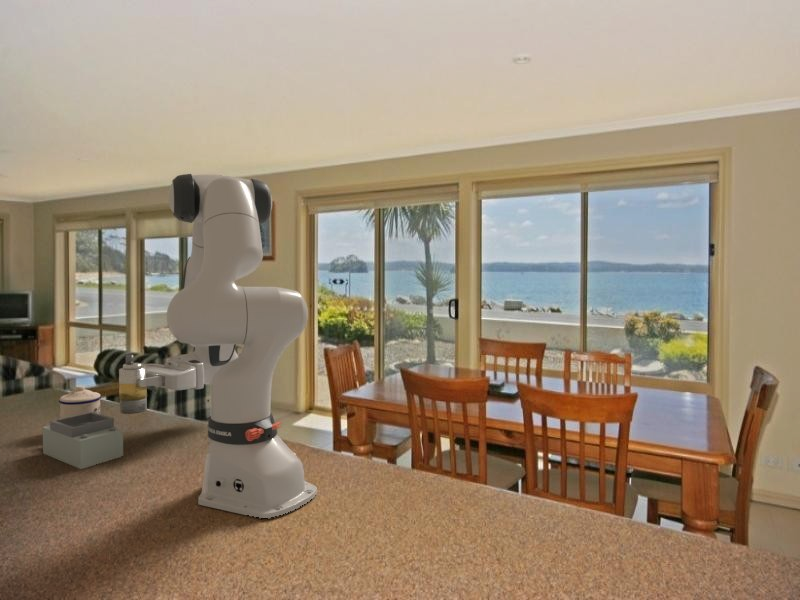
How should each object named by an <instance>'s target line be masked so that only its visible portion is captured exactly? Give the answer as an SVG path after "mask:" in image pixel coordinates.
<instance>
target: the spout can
mask: <svg viewBox="0 0 800 600" xmlns="http://www.w3.org/2000/svg"><path fill="white" fill-rule="evenodd" d="M142 364H143V363H141V362H134V354H127V355H126V354H125V363H123V365H122V368H119V369H118V374H119V375H118V385H119V386H118V387H119V389H118V390H119V391H118V392H119V394H118V395H119V413H120V414H123V415H132V414H133V415H134V414H140V413H144V412H146V411H148V410H147V409H148V407H147V406H148V403H147V401H148V400H147V397H148V392H147V387H148V386H145V387H139V386H137V379H141V378H146V367H142Z"/></svg>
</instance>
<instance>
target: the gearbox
mask: <svg viewBox="0 0 800 600" xmlns="http://www.w3.org/2000/svg"><path fill="white" fill-rule="evenodd" d="M49 423H50V424H49V425H45V426H43V427H42V452H43V453H42V454H44V455H46V456H48V457H51V458H53V459H56V460H58V461H60V462H63V463H65V464H67V465H70V466H72V467H75V468H77V469H79V470H83V469H87V468H89V467H93V466H96V464H97V465H99V463H100V464H102V462H103V463H106V462H109V460H110V461H113V460H115V459H114V458H116V459H118V457H119V458H122V457H121V456H123V457H124V430H123V429H122V428H118V427H116V426H115V419H114V417H111V416H108V415H105V414H101V413H100V414H98V413H94V412H89V413H84V414H80V415H75V416H71V417H66V418H62V419H60V418H59V419H54V420H53V419H52V420H50V421H49ZM112 459H113V460H112Z"/></svg>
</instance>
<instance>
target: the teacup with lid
mask: <svg viewBox="0 0 800 600" xmlns="http://www.w3.org/2000/svg"><path fill="white" fill-rule="evenodd" d="M101 399H102V396H101V393H99V392H95V391H92V390H90V389H86V387H85V385H77V386H76V387H75V390H72V391H70V392H69V393H68V394H64V395H62V396H61V397H60V398H59V401H58V402H59V407H60V409H59V410H60V411H59V413H60V415H59V416H60V418H59V419H62V418H66V417H71V416H75V415H80V414H84V413H89V412H94V413H98V414H101Z"/></svg>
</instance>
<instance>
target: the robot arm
mask: <svg viewBox="0 0 800 600" xmlns="http://www.w3.org/2000/svg"><path fill="white" fill-rule="evenodd" d="M171 182H172V183H171V184H170V186H169V189H168V191H167V193H168V194H167V199H168V200H167V202H168V205H169V208H170V210H171V212H172V215H173V216H174V217H175V218H176V219H177V220H178V221H181V222H184V223H185V222H186V223H189V224H193V225H192V234H191V235H192V238H191V239H192V243H191V244H192V246H191V253H190V256H189V257H188V258H187V259H186V262H185V265H184V269H183V276H182V280H181V281H182V282H181V290H179V291H178V292H176V294H175V295H173V297H172V298H171V300H170V302H169V304H168V306H167V311H166V323H167V326H168V329H169V331H170V333H171V334H172V336H173V337H174V338H175V339H176V340H177V341H178V342H179V343H182V344H186V345H187V344H188V345H189V346H191V347H194V351H193V352H191V353H185V354H177V355H172V356H170V357H169V358H168V360H167V362H165V363H164V364H159V363H144V364H143V363H142V367H146V378H141V379H137V386H139V387H145V386H147V387H155V388H156V387H158V388H162V389H168V390H172V391H183V390H184V391H185V390H201V389H202V390H203V389H204V386H205V385H210V415H209V417H208V418H207V419H208V420H207V437H208V438H209V446H208V449H207V451H206V455H205V460H204V470H203V479H202V486H201V487H202V488H201V492H200V495H199V496H198V497H197V498H198V499H197V504H198V505H199V506H203V507H206V508H207V507H208V508H212V509H217V510H221V511H226V512H229V513H235V514H240V515H242V516H243V515H244V516H247V515H249V516H248V517H252V516H254V517H253V518H256V517H259V518H258V519H261V518H268V519H272V518H271V517H274V516H277V517H280V516H279V515H281V516H284V515H286V514H288V512H289V513H291V512H294V511H296V510H298V509H299V508H301V507H303V506H305V505H306V504H308V503H309V502H310V500H311V499H312V500H313V499H314V498H315V497H316V496H317V494H318V487H317V486H316V485H314V484H313V483H310V482H308V481H306V480H305V469H304V465H303V462H302V460H301V459H300V458H299V457H298V456H297V454H296V453H295V452H294V451H292V450H291V449H290V448H289V446H288V445H287V444H286V443H285V442H284V441H283V440H282V439H281V438H280V436H279V435H278V429H279V428H282V425H281V423H282V421H278V422H276V421H275V419H274V415H273V413H272V412H271V406H272V405H271V401H272V399H271V398H272V397H271V396H272V384H273V376H274V372H275V370H276V369H275V368H276V366H277V364H278V362H279V360H280V358H281V356H282V354H283V353H284V351H285V350H286V349H287V348H288V347H289V346H290V344H292V343H293V342H294V341H295V340H296V339H297V338H299V337H300V336H301V335H302V334H303V333H304V331H305V329H306V327H307V325H308V321H309V308H308V304H307V302H306V300H305V298H304V297H303V296H302V294H301V293H300V292H299V291H298V290H294V289H290V288H285V287H280V286H279V287H278V286H241V285H237V284H236V282H237V281H238V280H240V279H242V278H245V277H247V276H249V275H250V274H252V273H253V272H255V271H256V270H257V269H258V268H259V267H260V265H261V264H262V261H263V259H264V252H263V243H262V235H261V228H260V225H263V224H264V223H265V222H267V221H268V220H269V218H270V216H271V213H272V210H273V197H272V194H271V189H270V187H269V186H268V185H267V184H266V182H264V181H262V180H258V179H254V178H250V179H247V178H243V177H237V176H229V175H228V176H227V175H222V174H195V175H194V174H193V175H192V173H185V174H179V175H176V177H174V178H173V179H172V181H171ZM236 345H243V346H242V351H241V352H240V353H239V354H238V353H237V351H236ZM315 495H316V496H315ZM312 500H311V501H312ZM307 502H308V503H307ZM304 504H305V505H304ZM302 505H303V506H302ZM300 506H301V507H300ZM295 509H296V510H295ZM290 511H291V512H290ZM285 513H286V514H285ZM283 514H284V515H283ZM274 518H275V517H274Z"/></svg>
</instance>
